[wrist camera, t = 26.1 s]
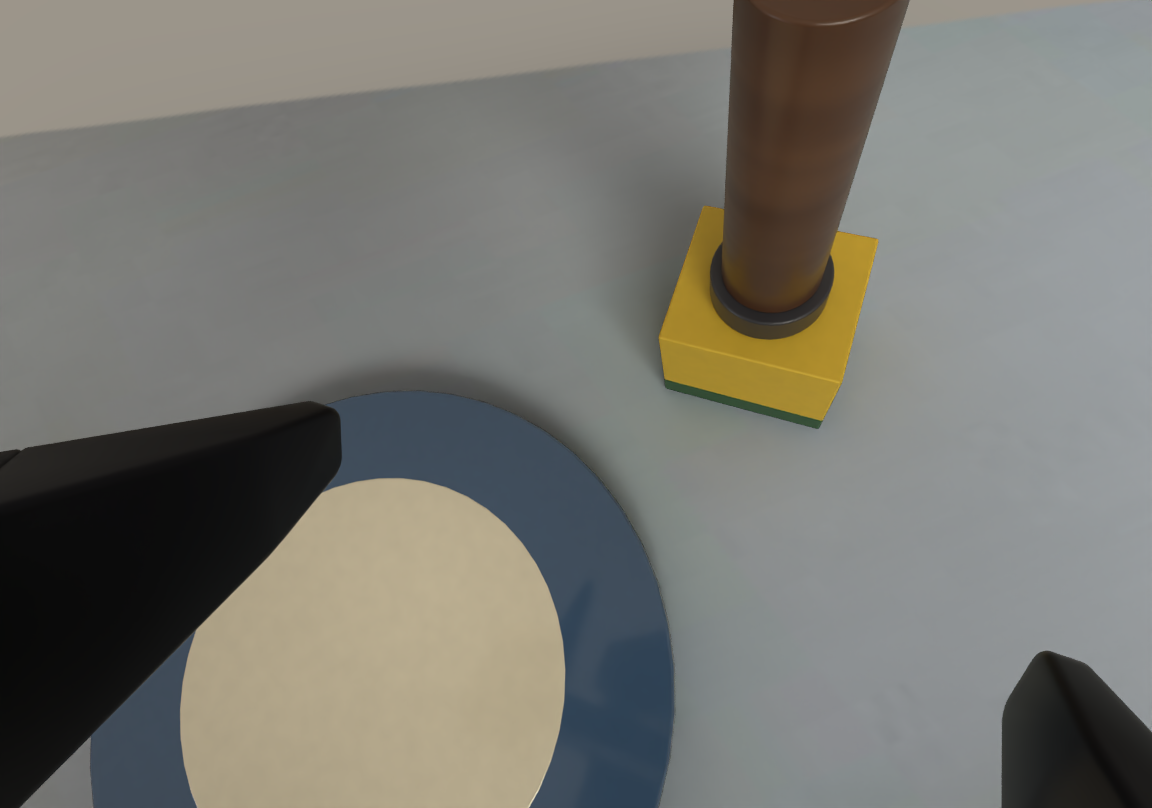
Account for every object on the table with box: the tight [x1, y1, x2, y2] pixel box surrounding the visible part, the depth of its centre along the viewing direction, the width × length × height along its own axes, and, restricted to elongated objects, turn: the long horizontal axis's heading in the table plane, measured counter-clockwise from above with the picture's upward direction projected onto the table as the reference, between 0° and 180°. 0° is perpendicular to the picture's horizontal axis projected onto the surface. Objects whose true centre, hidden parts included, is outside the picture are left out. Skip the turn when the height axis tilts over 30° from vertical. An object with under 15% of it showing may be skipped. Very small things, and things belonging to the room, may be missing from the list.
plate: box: [90, 391, 676, 808], centre depth 21 cm, size 18×18×1 cm
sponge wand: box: [659, 0, 909, 429], centre depth 17 cm, size 4×5×14 cm
